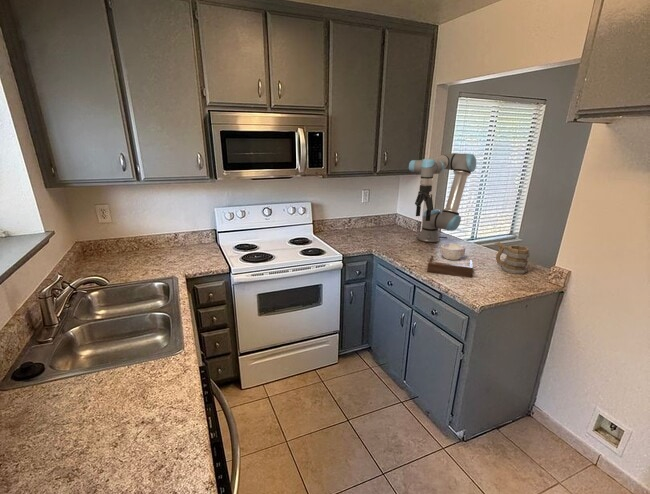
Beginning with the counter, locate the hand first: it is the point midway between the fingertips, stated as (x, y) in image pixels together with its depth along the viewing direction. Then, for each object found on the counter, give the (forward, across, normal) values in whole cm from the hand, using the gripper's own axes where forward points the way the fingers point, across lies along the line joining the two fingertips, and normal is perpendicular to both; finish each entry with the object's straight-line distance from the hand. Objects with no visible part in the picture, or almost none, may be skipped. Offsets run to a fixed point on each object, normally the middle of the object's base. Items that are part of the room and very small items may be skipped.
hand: (422, 218), depth 230 cm
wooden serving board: (+24, +31, +4) cm, 40 cm away
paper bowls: (+25, +11, +18) cm, 32 cm away
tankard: (+25, +36, +40) cm, 59 cm away
